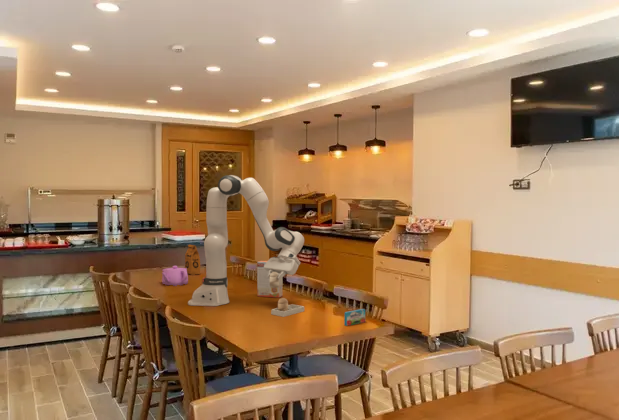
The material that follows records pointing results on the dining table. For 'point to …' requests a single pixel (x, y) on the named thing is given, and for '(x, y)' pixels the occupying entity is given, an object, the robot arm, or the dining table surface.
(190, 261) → the coffee package
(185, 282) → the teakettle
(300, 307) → the carton
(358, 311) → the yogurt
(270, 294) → the cracker box
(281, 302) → the brown egg
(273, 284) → the cream egg
